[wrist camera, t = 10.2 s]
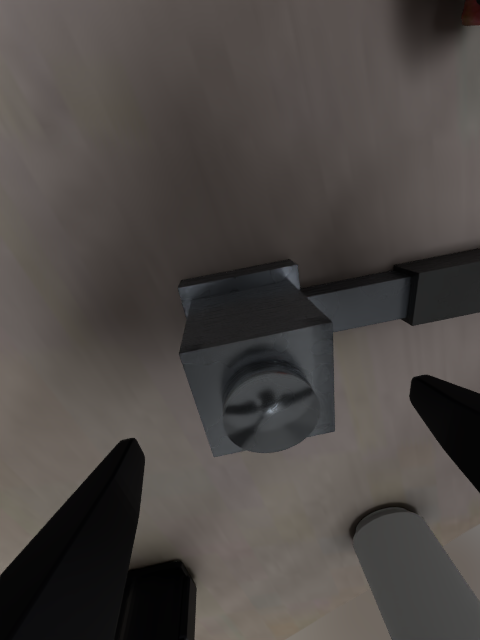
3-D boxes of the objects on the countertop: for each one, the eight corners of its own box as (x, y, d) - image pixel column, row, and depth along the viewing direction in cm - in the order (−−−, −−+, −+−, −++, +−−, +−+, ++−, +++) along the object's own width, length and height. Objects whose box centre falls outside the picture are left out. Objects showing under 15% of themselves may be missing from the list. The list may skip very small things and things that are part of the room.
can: (336, 543, 27) (422, 777, 16) (368, 499, 24) (500, 745, 13) (395, 545, 28) (511, 760, 17) (432, 504, 25) (598, 729, 14)
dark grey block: (213, 379, 15) (214, 482, 9) (191, 300, 12) (174, 373, 7) (297, 361, 15) (346, 453, 9) (289, 280, 12) (348, 336, 7)
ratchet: (206, 369, 16) (204, 425, 12) (181, 280, 14) (167, 311, 9) (505, 309, 16) (602, 342, 12) (534, 211, 14) (668, 211, 10)
